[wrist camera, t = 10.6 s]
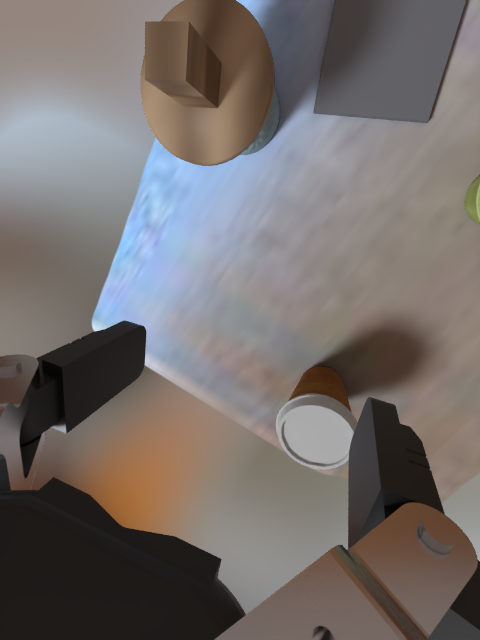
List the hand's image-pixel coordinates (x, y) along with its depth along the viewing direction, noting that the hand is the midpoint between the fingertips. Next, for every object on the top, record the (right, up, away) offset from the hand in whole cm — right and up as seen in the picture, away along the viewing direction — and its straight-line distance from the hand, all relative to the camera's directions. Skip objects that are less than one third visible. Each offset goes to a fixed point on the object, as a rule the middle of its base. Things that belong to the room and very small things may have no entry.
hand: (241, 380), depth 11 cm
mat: (+15, +30, +21) cm, 40 cm away
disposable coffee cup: (+12, -7, +35) cm, 38 cm away
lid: (-3, +22, +17) cm, 28 cm away
